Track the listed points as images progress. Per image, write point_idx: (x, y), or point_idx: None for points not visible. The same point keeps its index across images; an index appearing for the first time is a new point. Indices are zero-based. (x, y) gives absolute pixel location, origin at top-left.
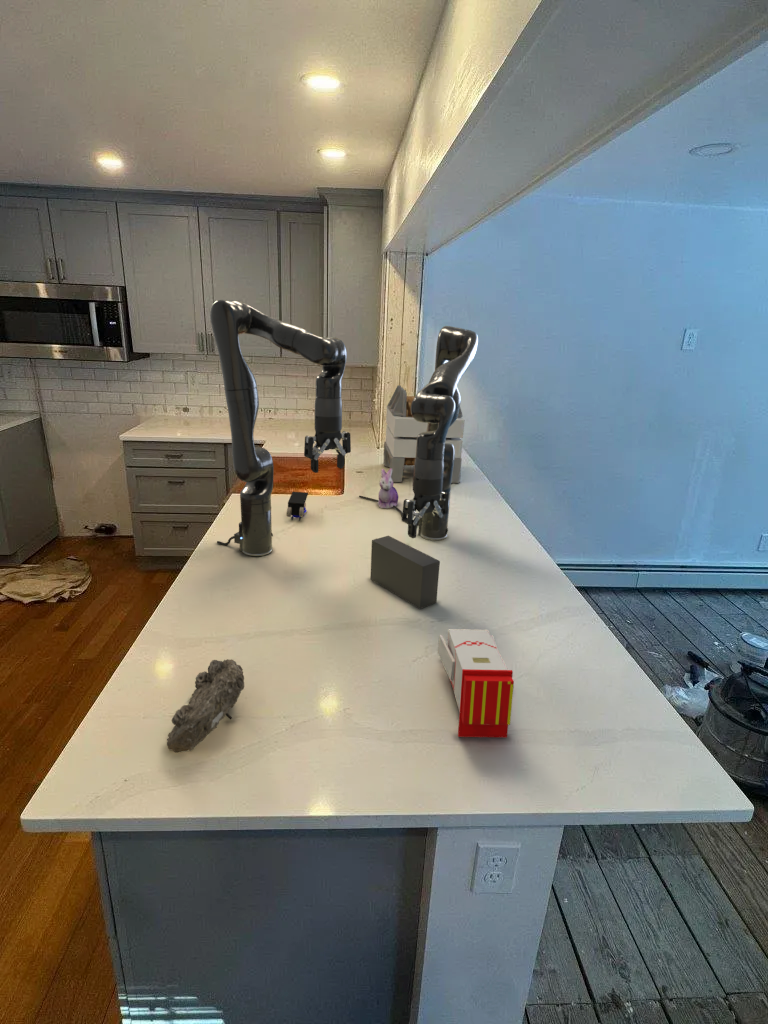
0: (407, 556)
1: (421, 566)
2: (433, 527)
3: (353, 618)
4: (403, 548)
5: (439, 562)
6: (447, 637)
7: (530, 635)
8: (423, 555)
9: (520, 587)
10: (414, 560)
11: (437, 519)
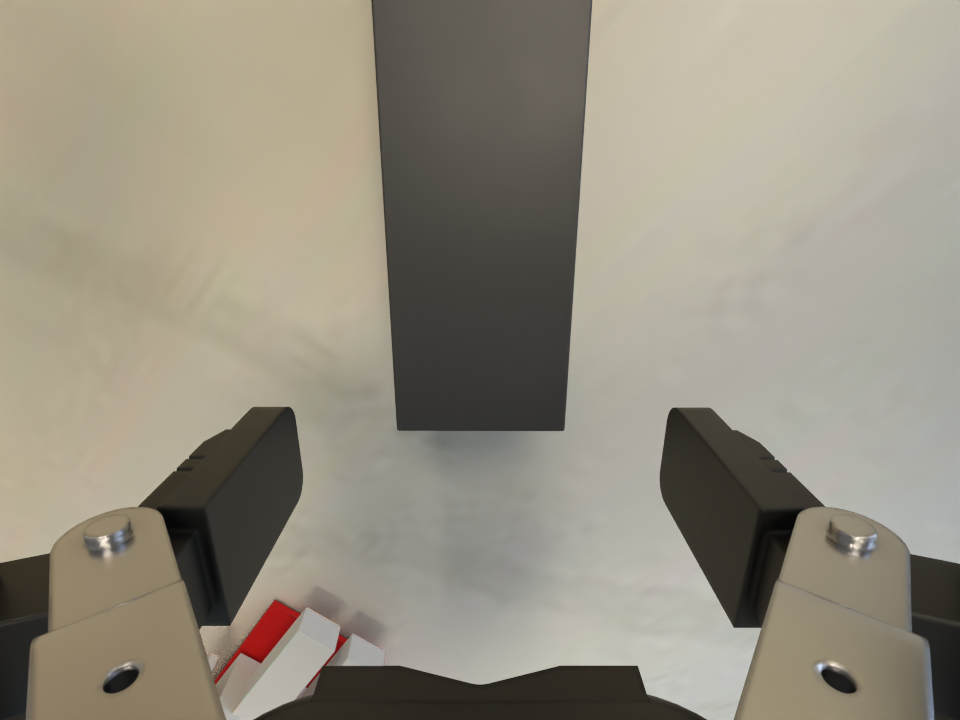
0: (413, 237)
1: (397, 415)
2: (680, 434)
3: (114, 220)
4: (496, 76)
5: (558, 427)
6: (304, 613)
7: (618, 652)
8: (536, 296)
9: (940, 447)
10: (412, 325)
11: (729, 585)
